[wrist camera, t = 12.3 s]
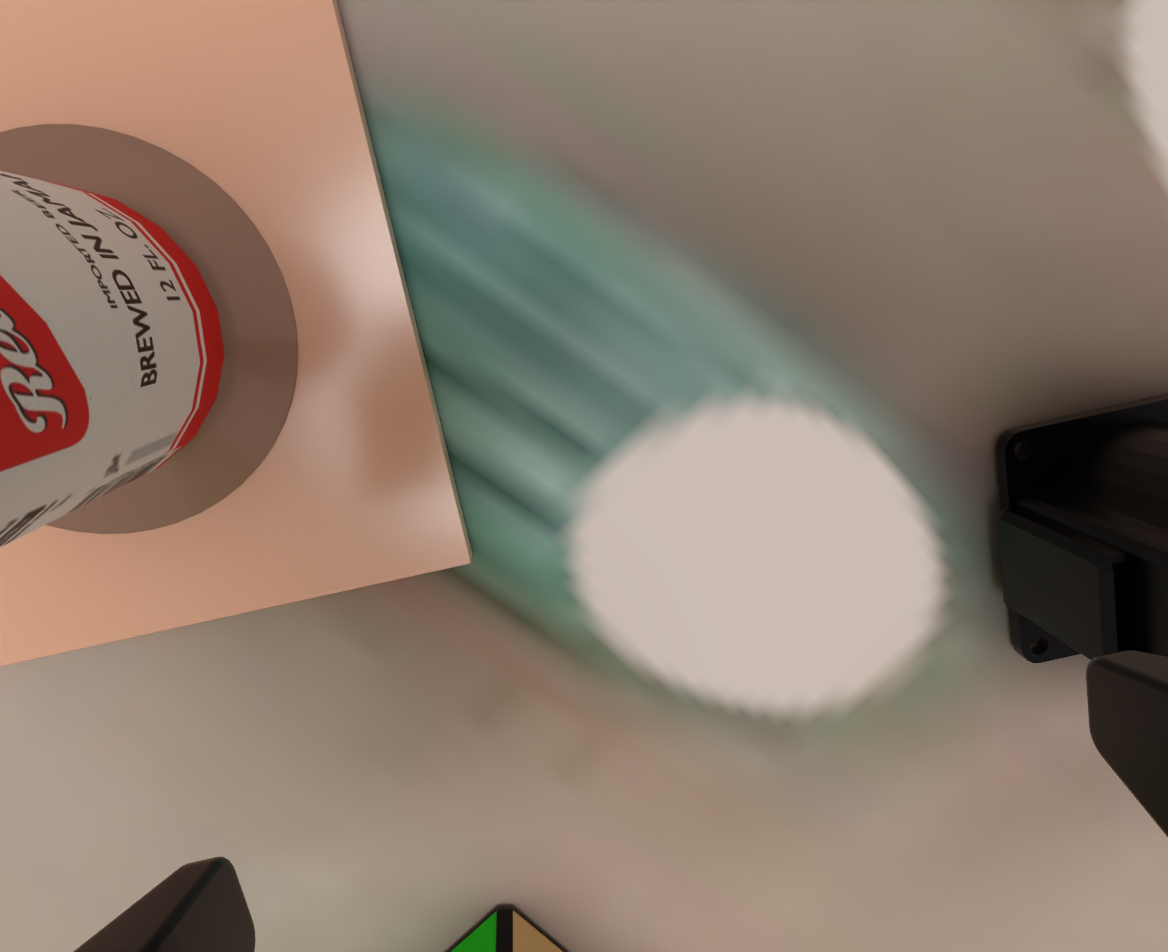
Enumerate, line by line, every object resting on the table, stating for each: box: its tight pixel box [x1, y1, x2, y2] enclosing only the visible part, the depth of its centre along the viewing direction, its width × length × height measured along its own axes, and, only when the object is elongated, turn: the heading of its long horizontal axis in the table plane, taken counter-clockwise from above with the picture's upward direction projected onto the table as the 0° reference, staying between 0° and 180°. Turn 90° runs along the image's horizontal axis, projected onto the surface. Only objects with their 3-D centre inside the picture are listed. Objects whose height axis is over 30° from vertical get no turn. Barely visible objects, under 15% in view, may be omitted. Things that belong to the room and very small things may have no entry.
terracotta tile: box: [0, 0, 472, 666], centre depth 19 cm, size 14×14×1 cm
